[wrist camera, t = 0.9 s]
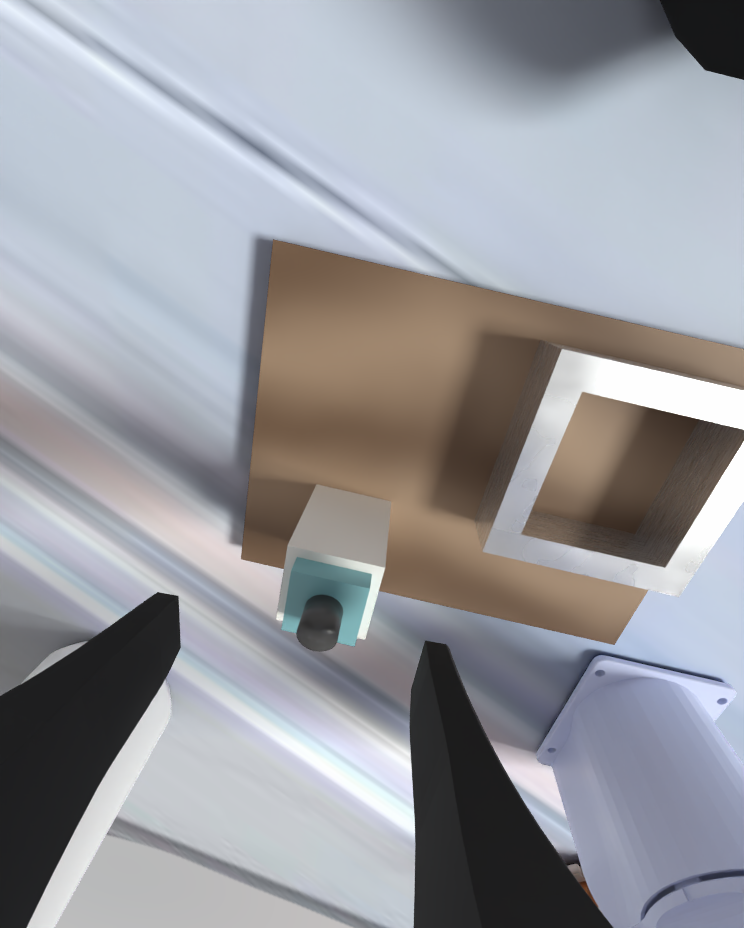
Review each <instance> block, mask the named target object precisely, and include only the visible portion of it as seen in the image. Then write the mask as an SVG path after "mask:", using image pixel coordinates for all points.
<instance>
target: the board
mask: <svg viewBox="0 0 744 928" xmlns="http://www.w3.org/2000/svg"><path fill="white" fill-rule="evenodd" d="M540 340H543V341H548V342H552V343H556V344H561V345H565V346H569V347H574V348H578V349H582V350H586V351H591V352H595V353H599V354H604V355H608V356H612V357H616V358H621V359H625V360H629V361H634V362H638V363H642V364H647V365H651V366H655V367H659V368H664V369H668V370H672V371H677V372H681V373H685V374H690V375H694V376H698V377H702V378H707V379H711V380H715V381H720V382H724V383H728V384H732V385H737V386H741V387H744V349H741V348H736V347H732V346H728V345H724V344H719V343H715V342H711V341H706V340H702V339H698V338H694V337H689V336H685V335H681V334H676V333H672V332H668V331H664V330H659V329H655V328H651V327H646V326H642V325H638V324H633V323H629V322H625V321H621V320H616V319H612V318H608V317H603V316H599V315H595V314H591V313H586V312H582V311H578V310H573V309H569V308H565V307H561V306H556V305H552V304H548V303H543V302H539V301H535V300H531V299H526V298H522V297H518V296H513V295H509V294H505V293H501V292H496V291H492V290H488V289H483V288H479V287H475V286H471V285H466V284H462V283H458V282H453V281H449V280H445V279H441V278H436V277H432V276H428V275H423V274H419V273H415V272H411V271H406V270H402V269H398V268H393V267H389V266H385V265H381V264H376V263H372V262H368V261H363V260H359V259H355V258H351V257H346V256H342V255H338V254H333V253H329V252H325V251H320V250H316V249H312V248H308V247H303V246H299V245H295V244H290V243H286V242H282V241H278V240H273V246H272V256H271V266H270V276H269V286H268V295H267V305H266V315H265V325H264V335H263V345H262V355H261V365H260V375H259V385H258V395H257V405H256V415H255V425H254V435H253V445H252V455H251V465H250V475H249V485H248V495H247V505H246V514H245V524H244V534H243V544H242V554H241V559H243V560H247V561H251V562H256V563H260V564H264V565H269V566H273V567H277V568H282V569H284V565H285V559H286V552H287V546H288V543H289V541H290V539H291V537H292V535H293V533H294V531H295V529H296V527H297V524H298V522H299V520H300V518H301V516H302V514H303V512H304V510H305V508H306V506H307V503H308V501H309V499H310V497H311V495H312V493H313V491H314V489H315V487H316V484H318V485H322V486H326V487H331V488H335V489H339V490H344V491H348V492H352V493H357V494H361V495H365V496H370V497H374V498H378V499H383V500H387V501H391V510H390V521H389V532H388V543H387V554H386V564H385V570H384V574H383V577H382V581H381V585H380V588H379V591H382V592H386V593H391V594H395V595H399V596H404V597H408V598H412V599H417V600H421V601H426V602H430V603H434V604H439V605H443V606H447V607H452V608H456V609H460V610H465V611H469V612H473V613H478V614H482V615H487V616H491V617H495V618H500V619H504V620H508V621H513V622H517V623H521V624H526V625H530V626H534V627H539V628H543V629H548V630H552V631H556V632H561V633H565V634H569V635H574V636H578V637H582V638H587V639H591V640H595V641H600V642H604V643H609V644H613V645H615V643H616V641H617V640H618V638H619V637H620V635H621V633H622V632H623V630H624V629H625V627H626V625H627V624H628V622H629V620H630V619H631V617H632V616H633V614H634V612H635V611H636V609H637V608H638V606H639V604H640V603H641V601H642V600H643V598H644V596H645V595H646V593H647V591H648V590H646V589H642V588H637V587H633V586H629V585H624V584H620V583H616V582H611V581H607V580H602V579H598V578H594V577H589V576H585V575H581V574H576V573H572V572H568V571H563V570H559V569H555V568H550V567H546V566H542V565H537V564H533V563H529V562H524V561H520V560H516V559H511V558H507V557H503V556H498V555H494V554H490V553H485V552H482V548H481V544H480V540H479V537H478V533H477V529H476V525H475V522H474V520H475V517H476V514H477V512H478V509H479V506H480V504H481V501H482V498H483V495H484V493H485V490H486V487H487V484H488V482H489V479H490V476H491V474H492V471H493V468H494V465H495V463H496V460H497V457H498V455H499V452H500V449H501V446H502V444H503V441H504V438H505V435H506V433H507V430H508V427H509V425H510V422H511V419H512V416H513V414H514V411H515V408H516V406H517V403H518V400H519V397H520V395H521V392H522V389H523V386H524V384H525V381H526V378H527V376H528V373H529V370H530V367H531V365H532V362H533V359H534V357H535V354H536V351H537V348H538V346H539V343H540ZM698 421H699V419H698V418H693V417H689V416H685V415H680V414H676V413H672V412H667V411H663V410H659V409H655V408H650V407H646V406H642V405H637V404H633V403H629V402H624V401H620V400H616V399H612V398H607V397H603V396H599V395H594V394H590V393H586V392H582V393H581V395H580V398H579V400H578V402H577V405H576V407H575V409H574V412H573V414H572V416H571V419H570V421H569V423H568V426H567V428H566V430H565V433H564V435H563V437H562V440H561V442H560V444H559V447H558V449H557V451H556V454H555V456H554V458H553V461H552V463H551V465H550V468H549V470H548V472H547V475H546V477H545V479H544V482H543V484H542V486H541V489H540V491H539V493H538V496H537V498H536V500H535V503H534V505H533V507H532V510H533V511H538V512H542V513H546V514H551V515H555V516H559V517H564V518H568V519H572V520H577V521H581V522H585V523H590V524H594V525H598V526H603V527H607V528H611V529H616V530H620V531H624V532H629V533H633V534H635V533H636V531H637V529H638V527H639V526H640V524H641V522H642V520H643V519H644V517H645V515H646V513H647V511H648V510H649V508H650V506H651V504H652V503H653V501H654V499H655V497H656V495H657V494H658V492H659V490H660V488H661V487H662V485H663V483H664V481H665V479H666V478H667V476H668V474H669V472H670V471H671V469H672V467H673V465H674V464H675V462H676V460H677V458H678V456H679V455H680V453H681V451H682V449H683V448H684V446H685V444H686V442H687V440H688V439H689V437H690V435H691V433H692V432H693V430H694V428H695V426H696V424H697V423H698Z"/></svg>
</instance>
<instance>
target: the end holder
mask: <svg viewBox="0 0 744 928" xmlns="http://www.w3.org/2000/svg"><path fill="white" fill-rule="evenodd" d="M582 392H586V393H590V394H594V395H599V396H603V397H607V398H612V399H616V400H620V401H624V402H629V403H633V404H637V405H642V406H646V407H650V408H655V409H659V410H663V411H667V412H672V413H676V414H680V415H685V416H689V417H693V418H698V419H699V421H698V423H697V424H696V426H695V428H694V430H693V432H692V433H691V435H690V437H689V439H688V440H687V442H686V444H685V446H684V448H683V449H682V451H681V453H680V455H679V456H678V458H677V460H676V462H675V464H674V465H673V467H672V469H671V471H670V472H669V474H668V476H667V478H666V479H665V481H664V483H663V485H662V487H661V488H660V490H659V492H658V494H657V495H656V497H655V499H654V501H653V503H652V504H651V506H650V508H649V510H648V511H647V513H646V515H645V517H644V519H643V520H642V522H641V524H640V526H639V527H638V529H637V531H636V533H635V534H633V533H629V532H624V531H620V530H616V529H611V528H607V527H603V526H598V525H594V524H590V523H585V522H581V521H577V520H572V519H568V518H564V517H559V516H555V515H551V514H546V513H542V512H538V511H533V510H532V507H533V505H534V503H535V500H536V498H537V496H538V493H539V491H540V489H541V486H542V484H543V482H544V479H545V477H546V475H547V472H548V470H549V468H550V465H551V463H552V461H553V458H554V456H555V454H556V451H557V449H558V447H559V444H560V442H561V440H562V437H563V435H564V433H565V430H566V428H567V426H568V423H569V421H570V419H571V416H572V414H573V412H574V409H575V407H576V405H577V402H578V400H579V398H580V395H581V393H582ZM743 500H744V387H741V386H737V385H732V384H728V383H724V382H720V381H715V380H711V379H707V378H702V377H698V376H694V375H690V374H685V373H681V372H677V371H672V370H668V369H664V368H659V367H655V366H651V365H647V364H642V363H638V362H634V361H629V360H625V359H621V358H616V357H612V356H608V355H604V354H599V353H595V352H591V351H586V350H582V349H578V348H574V347H569V346H565V345H561V344H556V343H552V342H548V341H543V340H540V343H539V346H538V348H537V351H536V354H535V357H534V359H533V362H532V365H531V367H530V370H529V373H528V376H527V378H526V381H525V384H524V386H523V389H522V392H521V395H520V397H519V400H518V403H517V406H516V408H515V411H514V414H513V416H512V419H511V422H510V425H509V427H508V430H507V433H506V435H505V438H504V441H503V444H502V446H501V449H500V452H499V455H498V457H497V460H496V463H495V465H494V468H493V471H492V474H491V476H490V479H489V482H488V484H487V487H486V490H485V493H484V495H483V498H482V501H481V504H480V506H479V509H478V512H477V514H476V517H475V520H474V522H475V525H476V529H477V533H478V537H479V540H480V544H481V548H482V552H485V553H490V554H494V555H498V556H503V557H507V558H511V559H516V560H520V561H524V562H529V563H533V564H537V565H542V566H546V567H550V568H555V569H559V570H563V571H568V572H572V573H576V574H581V575H585V576H589V577H594V578H598V579H602V580H607V581H611V582H616V583H620V584H624V585H629V586H633V587H637V588H642V589H646V590H650V591H655V592H659V593H663V594H668V595H672V596H676V597H679V596H680V595H681V593H682V592H683V590H684V589H685V587H686V586H687V584H688V583H689V581H690V580H691V578H692V577H693V575H694V574H695V572H696V571H697V569H698V568H699V566H700V565H701V563H702V562H703V560H704V559H705V557H706V556H707V554H708V553H709V551H710V550H711V548H712V547H713V545H714V544H715V542H716V541H717V539H718V538H719V536H720V535H721V533H722V532H723V530H724V529H725V527H726V526H727V524H728V523H729V521H730V520H731V518H732V517H733V515H734V514H735V512H736V511H737V509H738V508H739V506H740V505H741V503H742V502H743Z"/></svg>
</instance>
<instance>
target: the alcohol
mask: <svg viewBox="0 0 744 928" xmlns="http://www.w3.org/2000/svg"><path fill="white" fill-rule="evenodd" d="M86 642H88V641H83V642H79V643H75V644H72V645H69V646H67V647H64V648H61V649H58V650H56V651H54V652H52V653H51V654H50V655H49V656H48V657H47V658H45V659H44V660H43V661H42V662H41V663H40V664H39V666H38V667H37V668H36V669H35V670H34V671H33V672H32V673H31V674H30V675H29V676H28V677H27V678H26V679H25V680H24V681H23V682H22V683H24V682H25V681H27V680H29V679H30V678H32V677H34V676H35V675H37V674H39V673H40V672H42V671H43V670H45V669H47V668H48V667H50V666H51V665H53V664H54V663H56V662H58V661H59V660H61V659H62V658H64V657H65V656H67V655H68V654H70V653H72V652H73V651H75V650H76V649H78V648H79V647H81V646H82V645H84V644H85V643H86ZM22 683H21V684H22ZM170 717H171V693H170V688H169V685H168V683H167V681H166V678H165V680H164V682H163V684H162V686H161V687H160V689H159V691H158V692H157V694H156V695H155V697H154V699H153V700H152V702H151V703H150V705H149V707H148V708H147V710H146V711H145V713H144V714H143V716H142V718H141V719H140V721H139V722H138V724H137V725H136V727H135V729H134V730H133V732H132V733H131V735H130V736H129V738H128V740H127V741H126V743H125V744H124V746H123V747H122V749H121V750H120V752H119V754H118V755H117V757H116V758H115V760H114V761H113V763H112V765H111V766H110V768H109V769H108V771H107V773H106V775H105V776H104V778H103V780H102V781H101V783H100V785H99V786H98V788H97V790H96V792H95V794H94V796H93V798H92V800H91V801H90V803H89V805H88V807H87V809H86V811H85V813H84V815H83V816H82V818H81V820H80V822H79V824H78V826H77V828H76V830H75V832H74V834H73V836H72V838H71V839H70V841H69V843H68V845H67V847H66V849H65V851H64V853H63V855H62V857H61V859H60V861H59V863H58V865H57V867H56V869H55V871H54V873H53V875H52V877H51V879H50V881H49V883H48V885H47V887H46V889H45V891H44V893H43V895H42V897H41V899H40V901H39V903H38V906H37V908H36V910H35V912H34V914H33V916H32V918H31V920H30V922H29V924H28V926H27V928H54V927H55V926H56V924H57V922H58V920H59V918H60V917H61V915H62V913H63V911H64V909H65V907H66V906H67V904H68V902H69V900H70V899H71V897H72V895H73V893H74V891H75V890H76V888H77V886H78V884H79V882H80V881H81V879H82V877H83V875H84V873H85V871H86V870H87V868H88V866H89V864H90V863H91V861H92V859H93V857H94V855H95V854H96V852H97V850H98V848H99V846H100V845H101V843H102V841H103V839H104V837H105V836H106V834H107V832H108V830H109V828H110V827H111V825H112V823H113V821H114V819H115V818H116V816H117V814H118V812H119V810H120V809H121V807H122V805H123V803H124V801H125V800H126V798H127V796H128V794H129V792H130V791H131V789H132V787H133V785H134V783H135V782H136V780H137V778H138V776H139V774H140V773H141V771H142V769H143V767H144V765H145V764H146V762H147V760H148V758H149V756H150V755H151V753H152V751H153V749H154V747H155V746H156V744H157V742H158V740H159V738H160V737H161V735H162V733H163V731H164V729H165V728H166V726H167V724H168V722H169V719H170Z"/></svg>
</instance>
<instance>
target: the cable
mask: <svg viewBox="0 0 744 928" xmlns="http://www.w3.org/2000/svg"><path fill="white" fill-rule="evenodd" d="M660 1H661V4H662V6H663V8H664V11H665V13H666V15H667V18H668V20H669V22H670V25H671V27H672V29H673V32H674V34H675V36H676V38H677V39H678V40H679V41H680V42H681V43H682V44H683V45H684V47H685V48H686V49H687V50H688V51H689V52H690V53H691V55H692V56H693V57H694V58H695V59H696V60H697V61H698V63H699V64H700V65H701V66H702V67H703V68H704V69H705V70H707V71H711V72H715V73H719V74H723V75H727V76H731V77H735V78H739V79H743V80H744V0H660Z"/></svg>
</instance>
